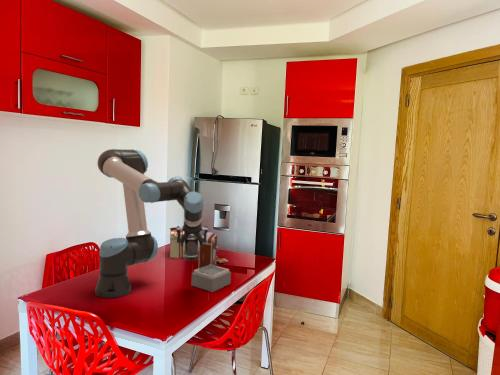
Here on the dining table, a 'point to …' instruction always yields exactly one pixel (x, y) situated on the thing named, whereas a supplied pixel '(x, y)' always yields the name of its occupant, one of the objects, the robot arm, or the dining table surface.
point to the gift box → (176, 244)
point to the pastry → (220, 260)
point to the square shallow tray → (211, 280)
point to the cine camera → (208, 250)
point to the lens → (191, 248)
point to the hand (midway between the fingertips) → (191, 248)
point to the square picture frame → (199, 271)
